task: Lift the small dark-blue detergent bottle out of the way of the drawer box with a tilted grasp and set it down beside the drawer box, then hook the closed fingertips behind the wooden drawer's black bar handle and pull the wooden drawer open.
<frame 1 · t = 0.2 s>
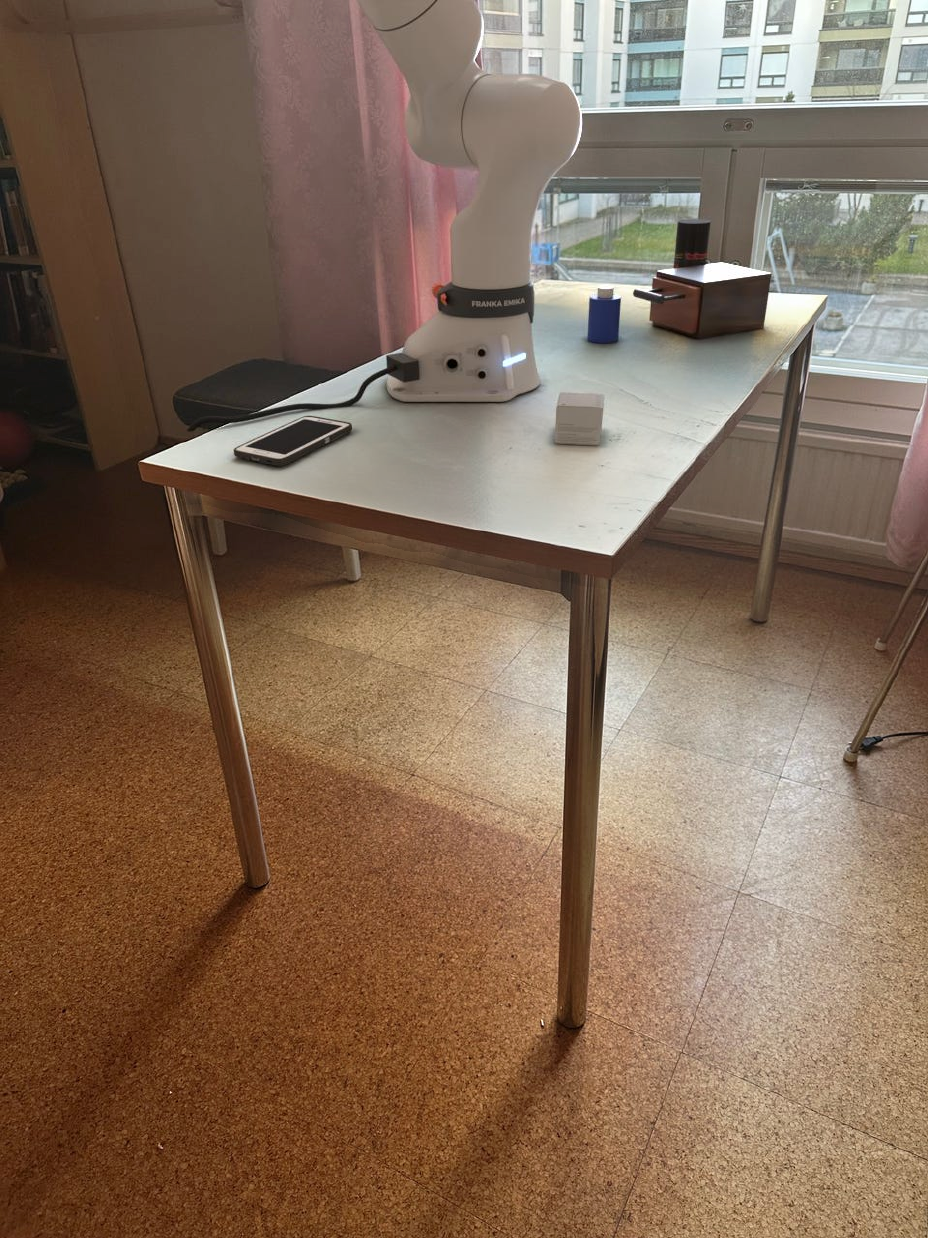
detergent bottle: (602, 339, 155), on the table
cell phone: (295, 444, 113), on the table
wooden drawer: (689, 302, 157), point 5 cm above the table, slide at 0.0 cm
drawer box: (707, 325, 161), on the table
small box: (578, 438, 113), on the table
deodorant: (685, 306, 176), on the table
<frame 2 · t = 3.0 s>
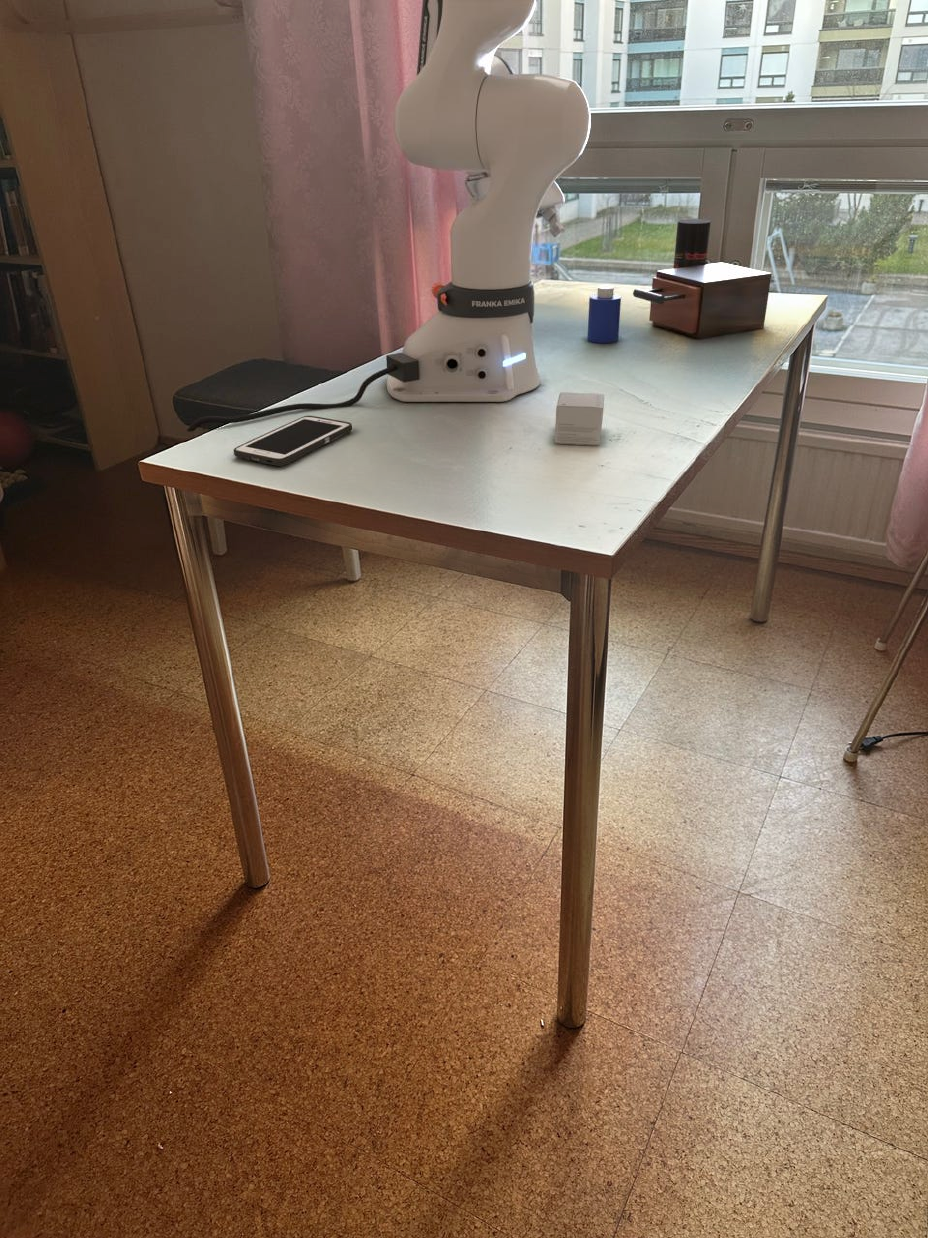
hand: (544, 238, 154), 15 cm above the table, tool tilted 45°, fingers open, 8 cm apart
nothing on the table moved.
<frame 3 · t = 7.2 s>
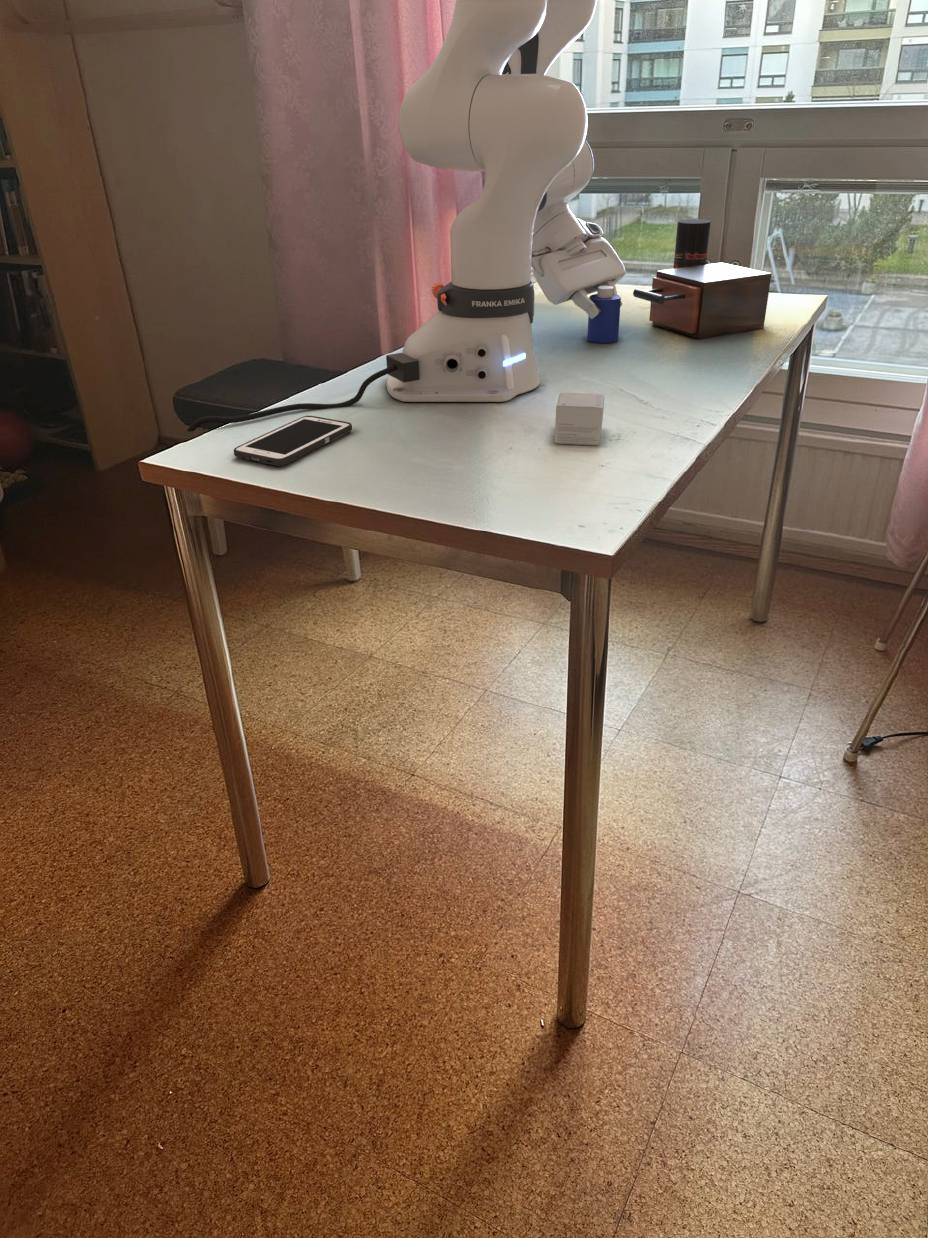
hand: (607, 311, 152), 5 cm above the table, tool tilted 45°, fingers closed on detergent bottle, 5 cm apart
detergent bottle: (602, 339, 155), on the table, touching gripper
everything else where it was.
when the fingers open (4 cm above the table, at t = 15.1 s): detergent bottle stays where it is, on the table.
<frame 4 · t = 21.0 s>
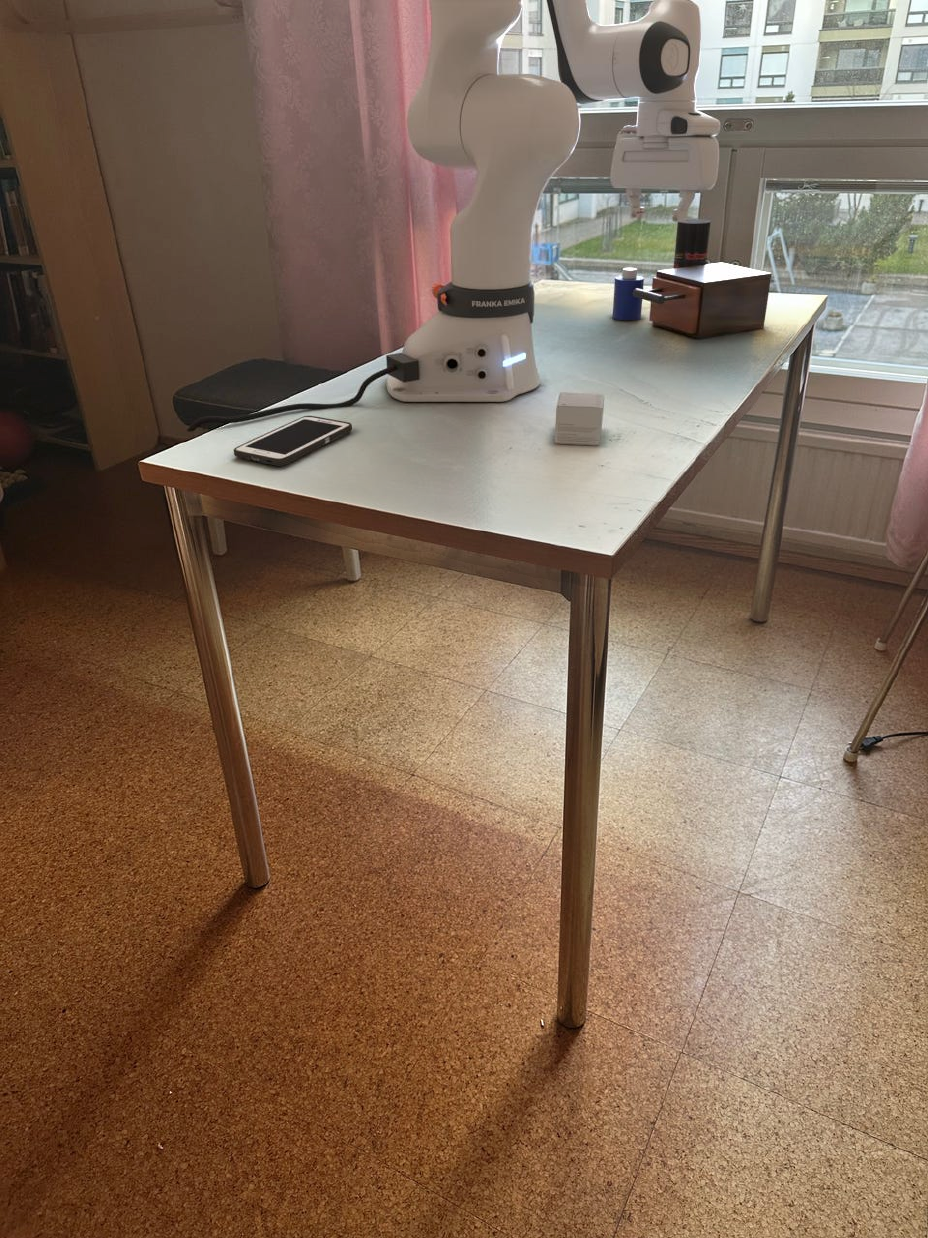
hand: (657, 220, 149), 18 cm above the table, tool pointing down, fingers open, 8 cm apart
detergent bottle: (626, 317, 168), on the table
everything else where it was.
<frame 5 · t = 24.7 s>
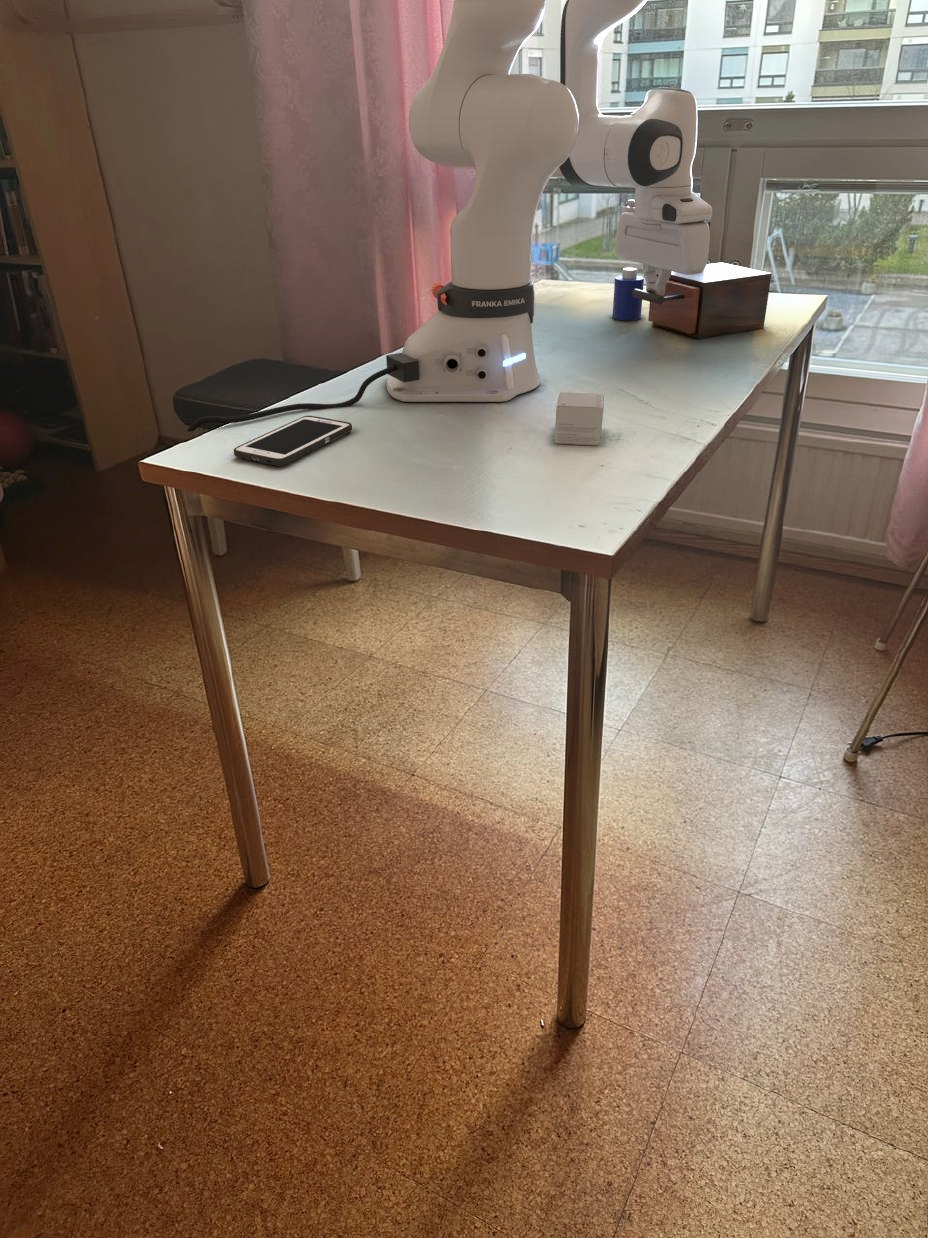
hand: (655, 294, 153), 7 cm above the table, tool pointing down, fingers closed
wooden drawer: (688, 302, 157), point 5 cm above the table, slide at 0.2 cm, touching gripper
everything else where it was.
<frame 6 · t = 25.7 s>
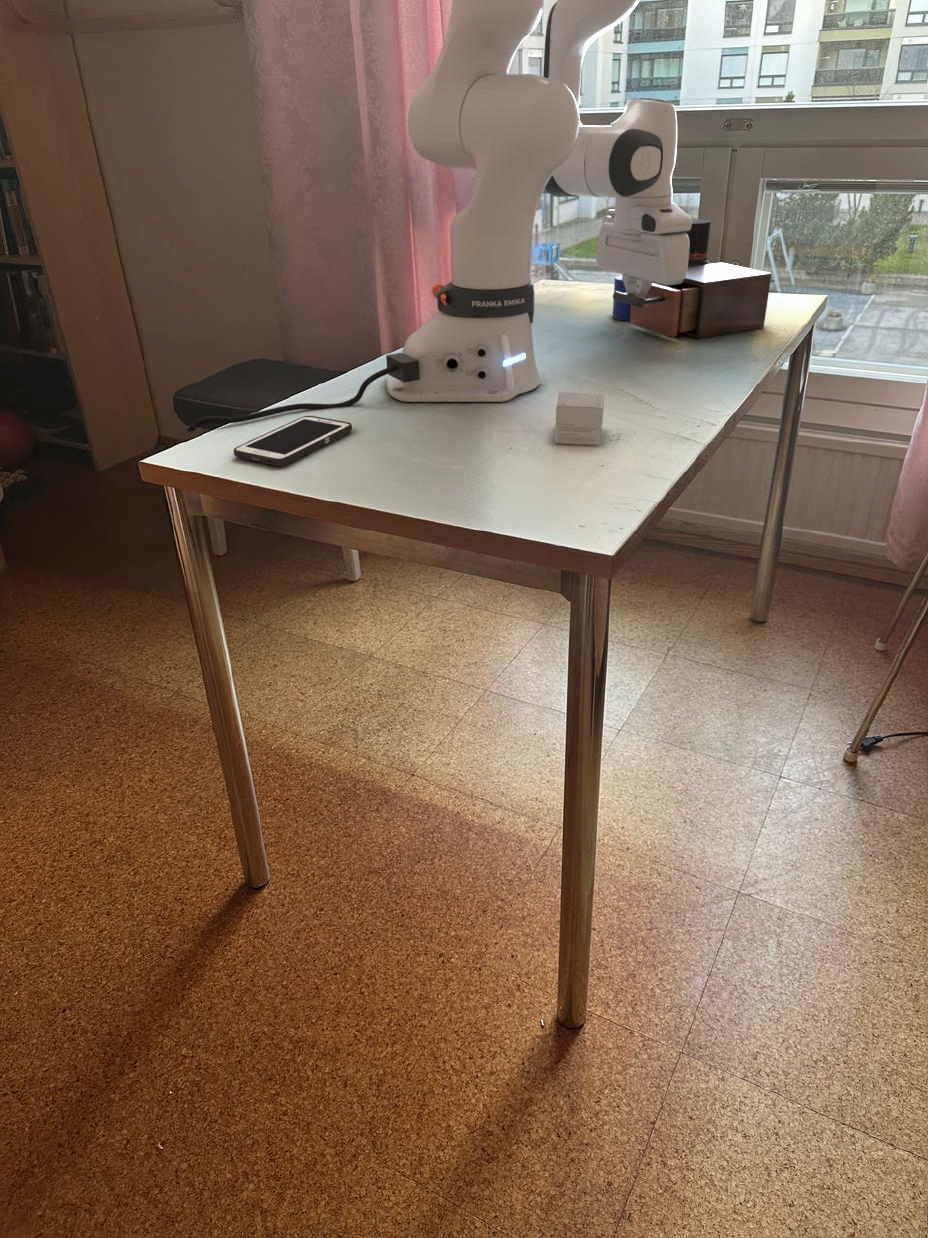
hand: (635, 304, 152), 6 cm above the table, tool pointing down, fingers closed, pressing on wooden drawer
wooden drawer: (670, 305, 155), point 5 cm above the table, slide at 4.2 cm, touching gripper
everything else where it was.
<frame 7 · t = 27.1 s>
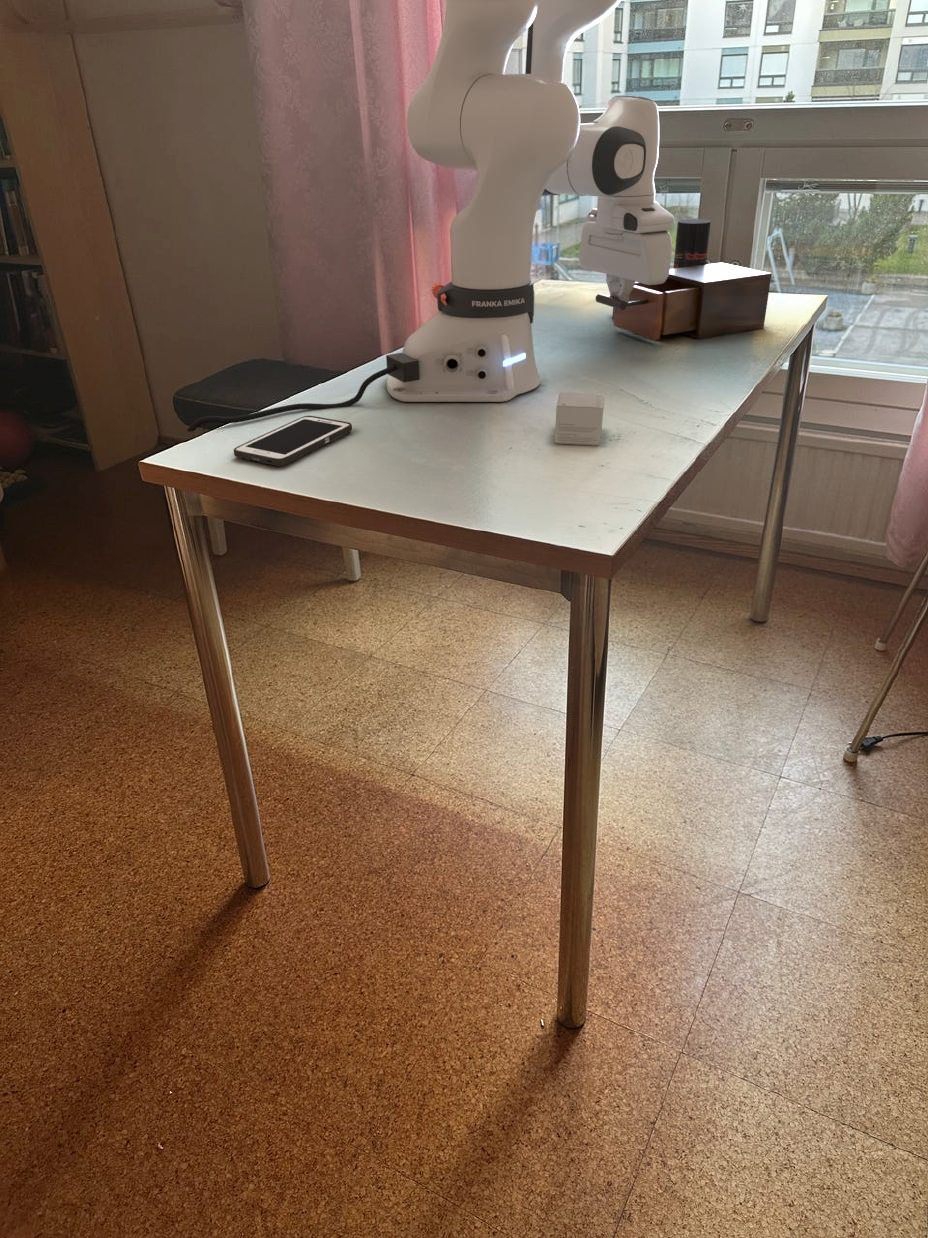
hand: (618, 304, 151), 6 cm above the table, tool pointing down, fingers closed
wooden drawer: (653, 307, 154), point 5 cm above the table, slide at 7.7 cm
everything else where it was.
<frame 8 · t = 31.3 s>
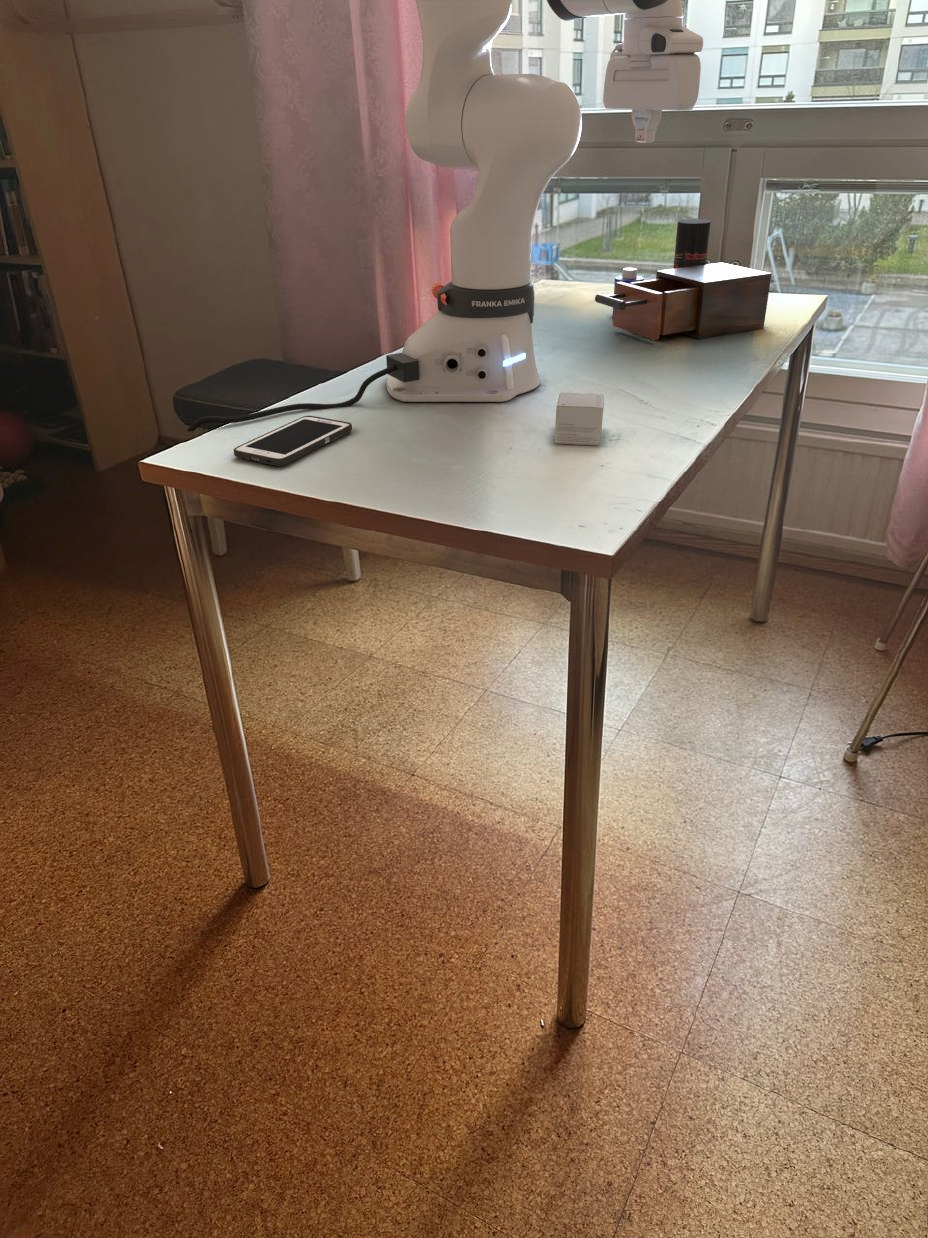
hand: (644, 142, 148), 29 cm above the table, tool pointing down, fingers closed
nothing on the table moved.
at the end: wooden drawer slide at 7.8 cm; detergent bottle inside the target area (0.1 cm from its centre), on the table; detergent bottle tilted 0° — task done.
